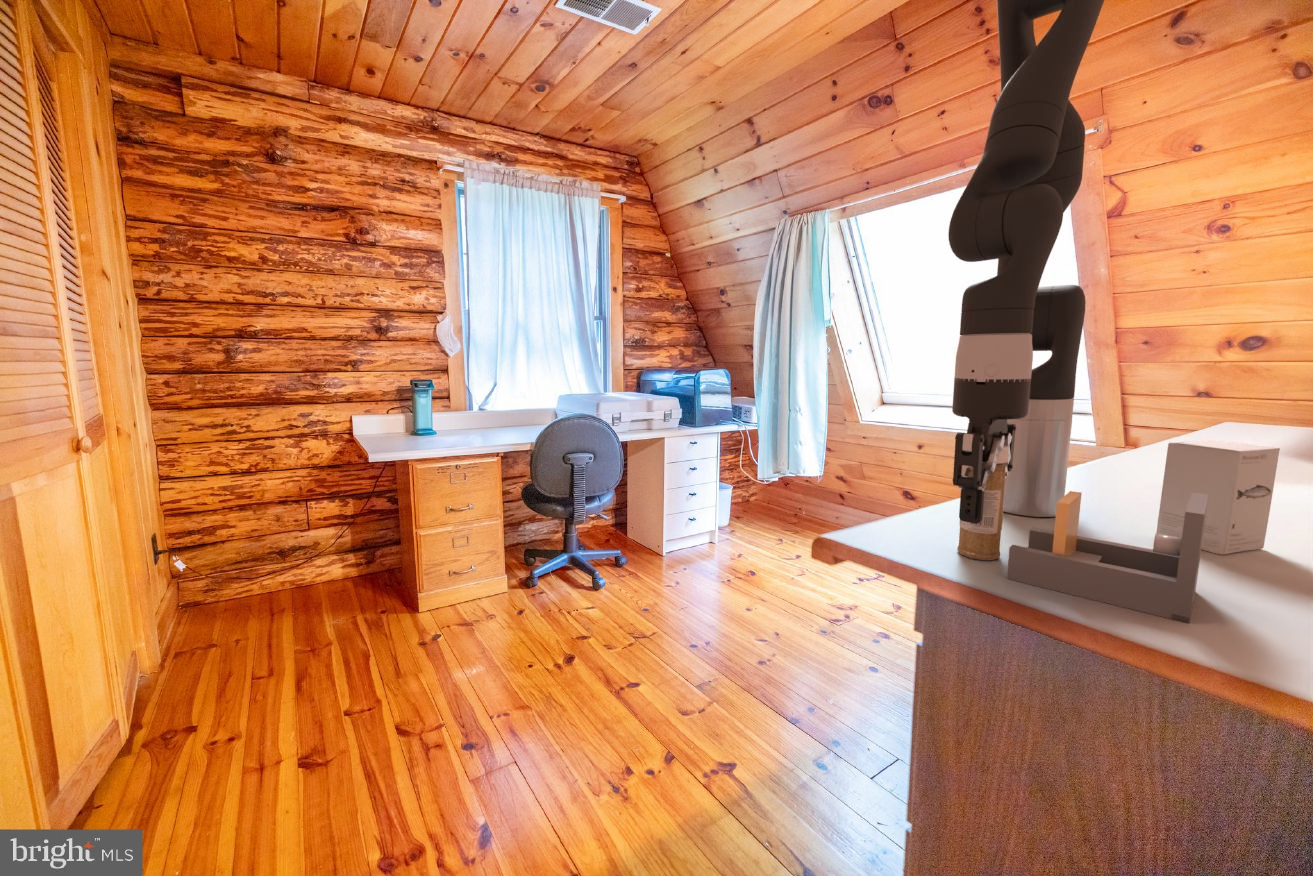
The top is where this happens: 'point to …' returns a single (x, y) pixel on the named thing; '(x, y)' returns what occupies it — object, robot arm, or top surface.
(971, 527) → the sprinkles bottle
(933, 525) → the top surface
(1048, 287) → the robot arm
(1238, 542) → the supplement box
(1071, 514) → the block
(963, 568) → the top surface
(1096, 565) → the lane
